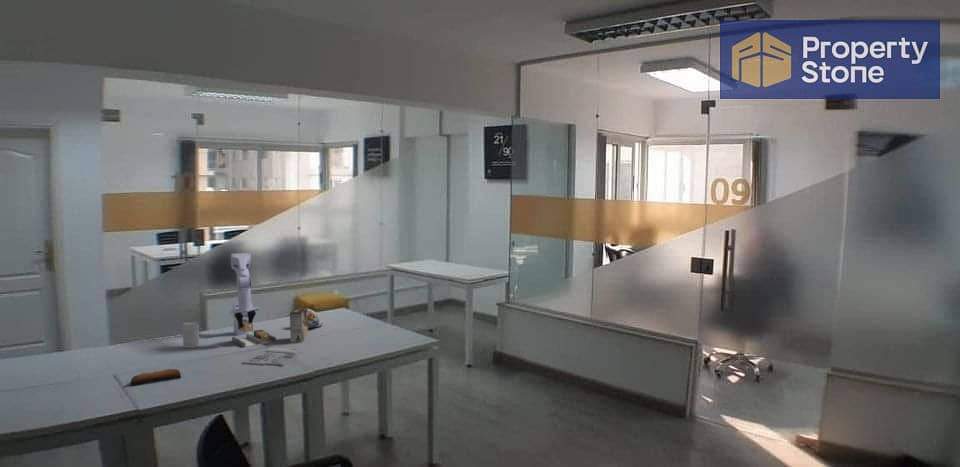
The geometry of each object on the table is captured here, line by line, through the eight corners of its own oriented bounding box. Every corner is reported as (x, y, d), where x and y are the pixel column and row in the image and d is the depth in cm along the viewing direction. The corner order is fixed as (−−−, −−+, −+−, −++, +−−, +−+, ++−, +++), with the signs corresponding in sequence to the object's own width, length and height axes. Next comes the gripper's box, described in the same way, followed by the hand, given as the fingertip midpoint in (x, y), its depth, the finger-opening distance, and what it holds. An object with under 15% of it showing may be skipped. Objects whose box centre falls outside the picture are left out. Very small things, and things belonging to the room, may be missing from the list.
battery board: (231, 342, 290) (231, 337, 290) (263, 336, 302) (263, 331, 302) (243, 348, 280) (243, 343, 279) (275, 342, 291) (275, 337, 291)
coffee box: (296, 338, 298) (295, 308, 297) (308, 338, 298) (307, 308, 297) (290, 343, 289) (289, 312, 288) (302, 343, 289) (302, 312, 287)
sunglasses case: (178, 372, 244) (179, 361, 241) (180, 384, 240) (181, 373, 236) (129, 380, 234) (129, 369, 231) (131, 393, 229) (130, 382, 226)
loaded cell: (253, 338, 295) (253, 330, 295) (261, 337, 298) (261, 329, 298) (261, 342, 288) (261, 334, 288) (269, 340, 291) (269, 333, 291)
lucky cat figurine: (327, 325, 326) (326, 307, 318) (313, 337, 317) (311, 319, 309) (306, 315, 331) (305, 297, 323) (292, 327, 321) (290, 309, 314)
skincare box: (199, 345, 283) (198, 322, 282) (194, 348, 279) (193, 324, 278) (188, 345, 284) (187, 322, 283) (182, 347, 280) (182, 324, 279)
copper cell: (238, 329, 289) (237, 321, 289) (246, 327, 292) (245, 319, 292) (245, 332, 282) (245, 324, 282) (253, 331, 285) (253, 323, 285)
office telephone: (270, 345, 279) (307, 348, 275) (270, 350, 280) (307, 353, 275) (242, 359, 257) (281, 362, 253) (242, 364, 257) (282, 367, 253)
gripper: (233, 303, 278) (234, 330, 279) (262, 299, 288) (262, 325, 289) (227, 301, 283) (228, 327, 284) (256, 297, 293) (257, 323, 294)
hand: (245, 326), depth 287 cm, fingers closed on copper cell, 4 cm apart
